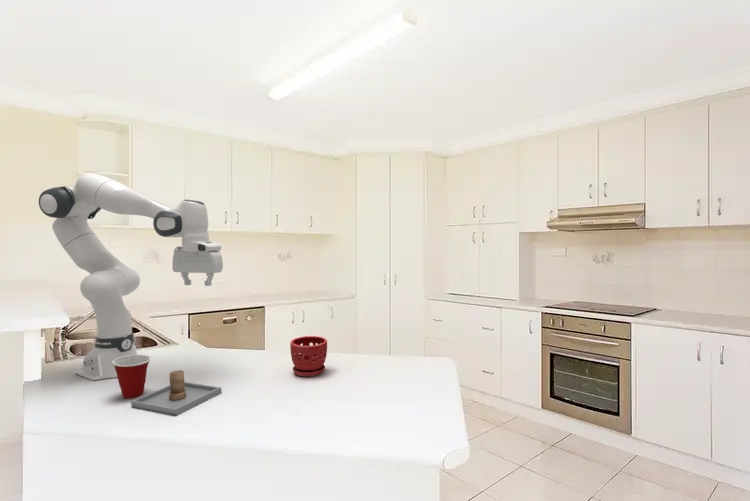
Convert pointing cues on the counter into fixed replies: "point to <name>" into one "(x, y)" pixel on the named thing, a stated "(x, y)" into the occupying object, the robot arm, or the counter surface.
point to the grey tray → (162, 404)
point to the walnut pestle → (177, 386)
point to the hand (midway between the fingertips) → (197, 285)
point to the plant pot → (308, 355)
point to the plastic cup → (131, 374)
